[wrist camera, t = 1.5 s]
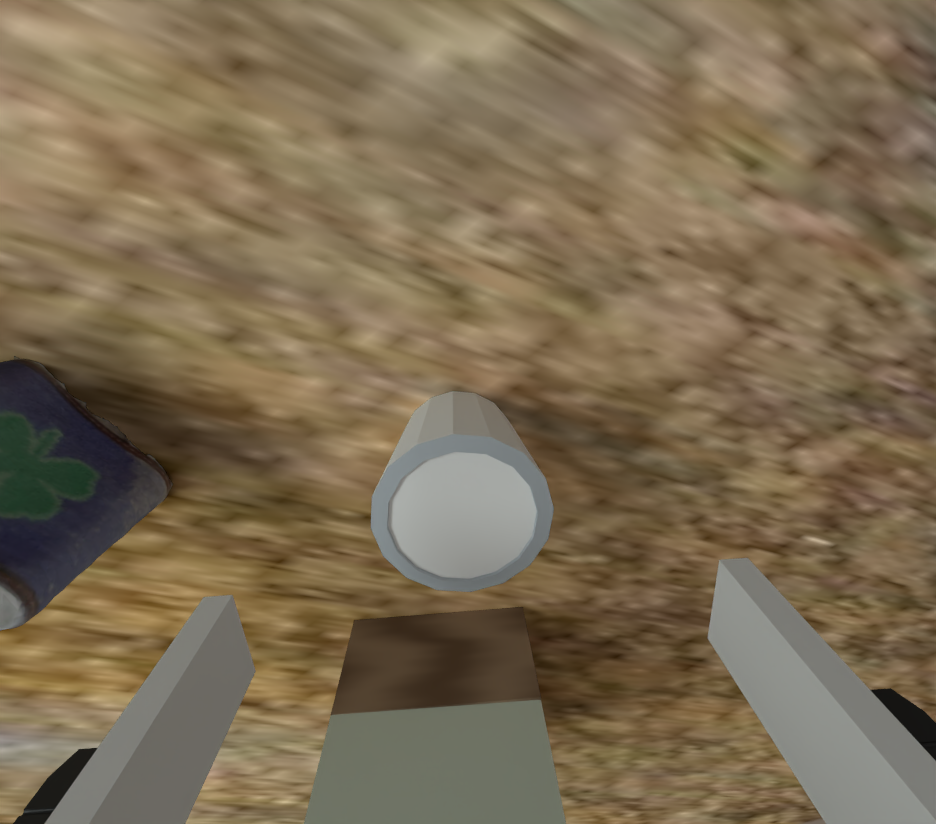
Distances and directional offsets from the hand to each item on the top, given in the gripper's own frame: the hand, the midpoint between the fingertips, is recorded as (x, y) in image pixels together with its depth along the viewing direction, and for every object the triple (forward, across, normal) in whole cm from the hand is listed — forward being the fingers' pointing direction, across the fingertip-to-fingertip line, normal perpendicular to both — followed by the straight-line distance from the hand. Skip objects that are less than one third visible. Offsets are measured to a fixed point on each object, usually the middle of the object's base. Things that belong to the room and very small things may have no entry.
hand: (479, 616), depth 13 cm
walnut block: (+12, -2, -16) cm, 20 cm away
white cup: (+12, 0, 0) cm, 12 cm away
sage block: (+6, -2, -16) cm, 17 cm away
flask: (+12, -18, +2) cm, 22 cm away
